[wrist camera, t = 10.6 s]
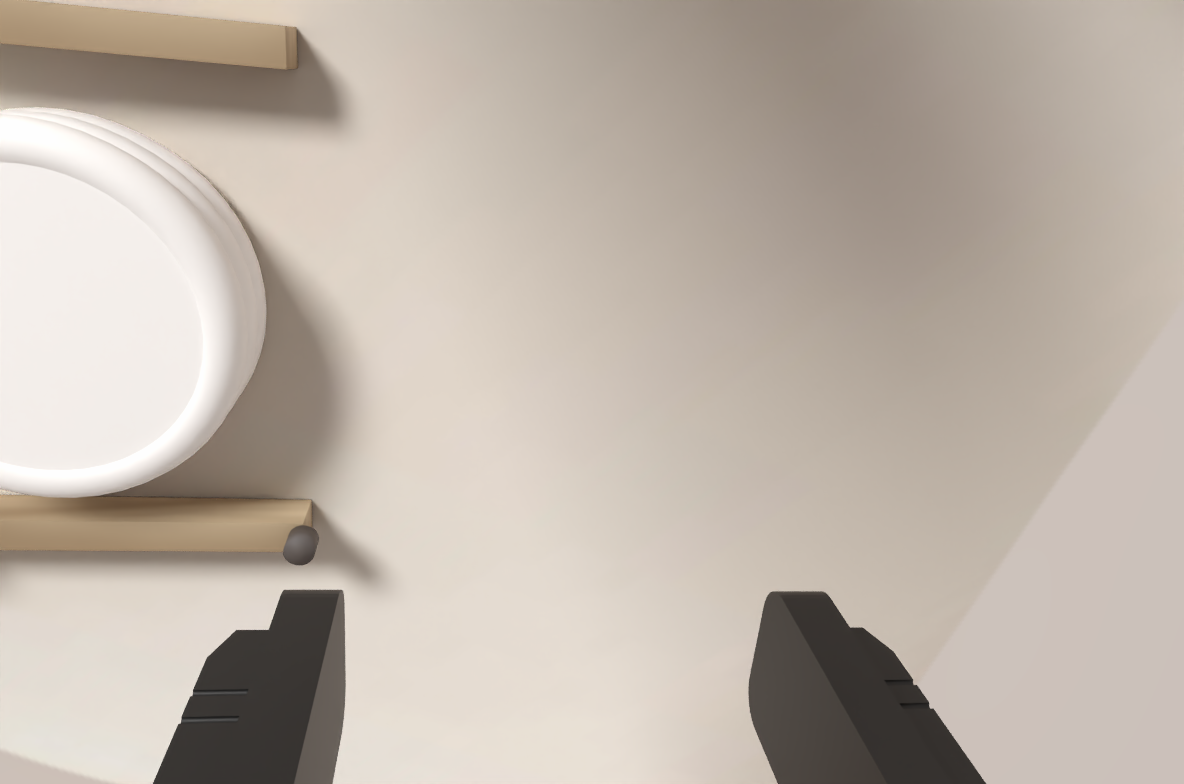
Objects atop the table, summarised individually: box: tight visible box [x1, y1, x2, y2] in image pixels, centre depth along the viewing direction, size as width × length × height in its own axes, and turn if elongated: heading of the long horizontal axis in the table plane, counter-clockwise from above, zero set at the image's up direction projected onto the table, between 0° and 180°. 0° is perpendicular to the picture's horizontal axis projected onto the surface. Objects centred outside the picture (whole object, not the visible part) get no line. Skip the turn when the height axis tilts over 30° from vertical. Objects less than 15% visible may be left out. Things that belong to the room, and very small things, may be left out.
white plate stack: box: [0, 107, 267, 498], centre depth 23 cm, size 10×10×4 cm
